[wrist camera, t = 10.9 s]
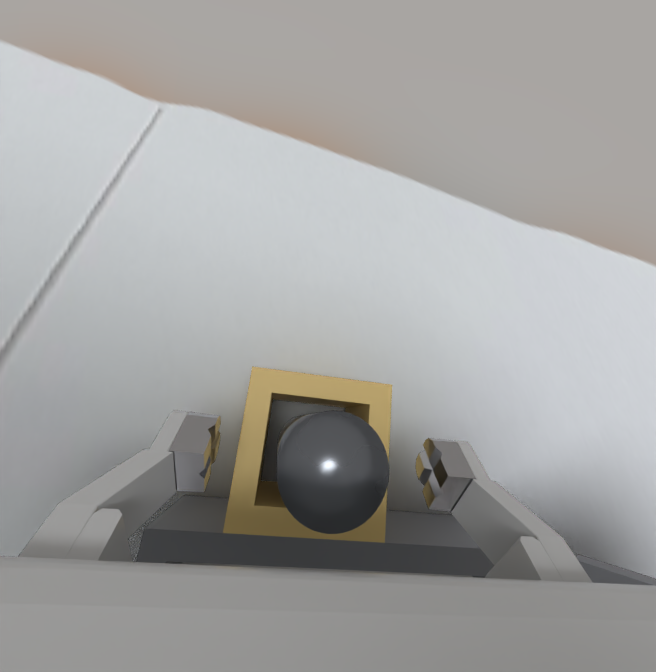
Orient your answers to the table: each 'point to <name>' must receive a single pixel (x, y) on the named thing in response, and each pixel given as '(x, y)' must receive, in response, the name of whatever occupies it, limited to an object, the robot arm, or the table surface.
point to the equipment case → (312, 544)
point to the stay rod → (331, 470)
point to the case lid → (612, 573)
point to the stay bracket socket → (247, 488)
